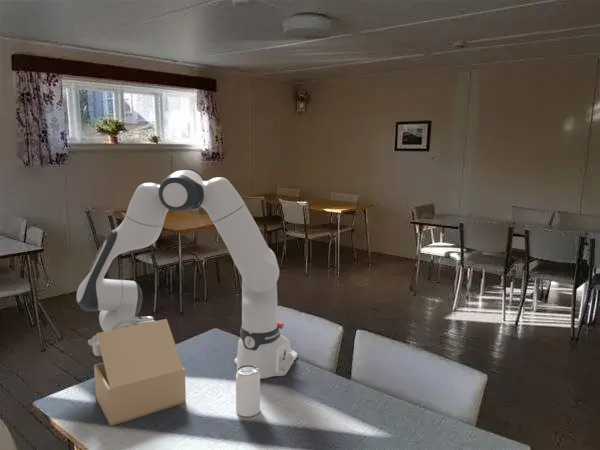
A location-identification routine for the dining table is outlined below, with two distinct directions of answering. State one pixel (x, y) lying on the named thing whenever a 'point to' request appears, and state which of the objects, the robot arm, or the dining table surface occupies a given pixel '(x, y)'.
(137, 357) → the carton flap
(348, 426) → the dining table surface
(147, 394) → the carton
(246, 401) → the can
